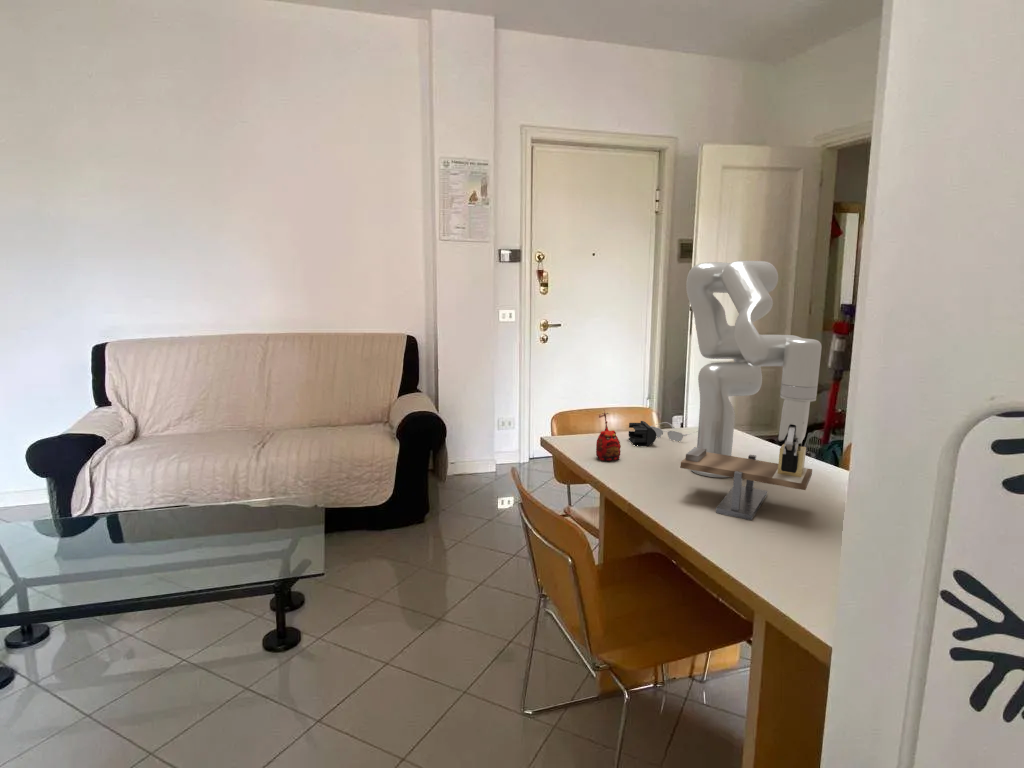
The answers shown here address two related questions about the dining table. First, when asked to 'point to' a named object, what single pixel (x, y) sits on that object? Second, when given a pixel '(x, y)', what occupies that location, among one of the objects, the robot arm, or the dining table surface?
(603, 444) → the red clay folk toy
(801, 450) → the tan wooden cube
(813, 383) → the robot arm
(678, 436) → the eyeglasses
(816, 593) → the dining table surface
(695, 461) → the balance beam
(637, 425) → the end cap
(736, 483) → the beam stand
